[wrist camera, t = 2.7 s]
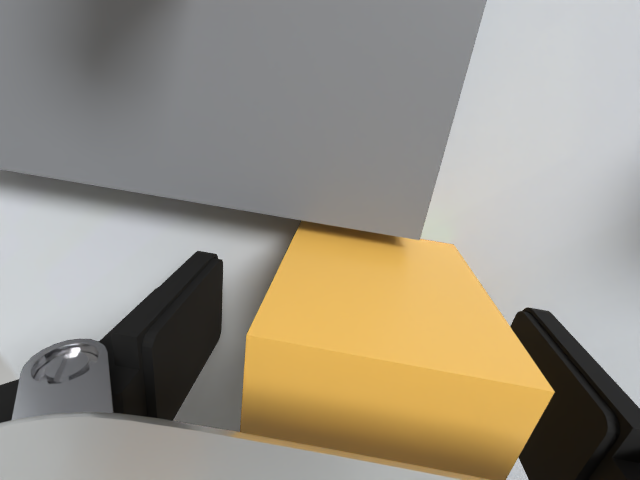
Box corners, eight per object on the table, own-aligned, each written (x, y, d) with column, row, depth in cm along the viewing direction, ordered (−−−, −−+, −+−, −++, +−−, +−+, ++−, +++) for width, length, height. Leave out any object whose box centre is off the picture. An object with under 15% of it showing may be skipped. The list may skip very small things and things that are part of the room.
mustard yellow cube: (415, 363, 13) (459, 561, 7) (287, 339, 13) (234, 515, 7) (453, 244, 11) (555, 391, 5) (302, 219, 11) (246, 334, 5)
